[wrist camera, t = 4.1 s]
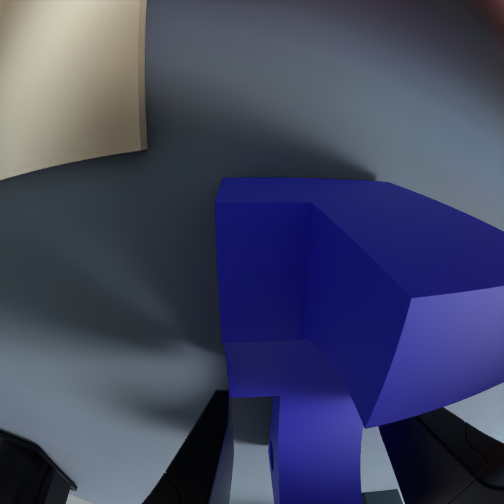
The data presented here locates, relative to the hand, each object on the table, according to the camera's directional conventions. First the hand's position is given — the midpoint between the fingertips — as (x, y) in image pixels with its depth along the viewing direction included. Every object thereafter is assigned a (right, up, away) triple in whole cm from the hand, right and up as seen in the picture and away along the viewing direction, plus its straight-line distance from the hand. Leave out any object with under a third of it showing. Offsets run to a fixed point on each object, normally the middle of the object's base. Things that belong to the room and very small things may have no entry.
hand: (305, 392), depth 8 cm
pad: (-10, +12, -4) cm, 16 cm away
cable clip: (0, +1, +1) cm, 2 cm away
